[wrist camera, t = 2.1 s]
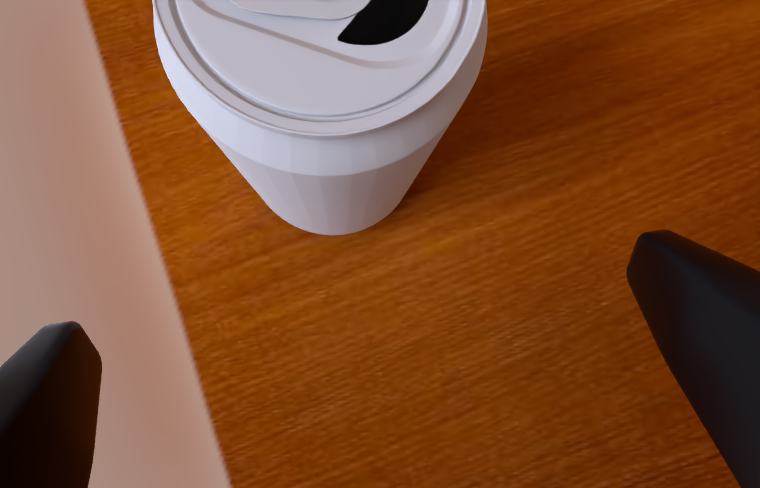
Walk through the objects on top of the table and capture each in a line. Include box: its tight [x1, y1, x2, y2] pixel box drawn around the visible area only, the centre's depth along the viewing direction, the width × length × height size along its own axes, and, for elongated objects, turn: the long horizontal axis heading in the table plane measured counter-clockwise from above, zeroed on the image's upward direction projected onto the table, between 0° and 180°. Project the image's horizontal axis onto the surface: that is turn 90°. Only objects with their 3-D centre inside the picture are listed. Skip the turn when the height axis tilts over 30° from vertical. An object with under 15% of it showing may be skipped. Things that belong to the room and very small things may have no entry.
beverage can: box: [152, 0, 488, 235], centre depth 14 cm, size 6×6×12 cm
